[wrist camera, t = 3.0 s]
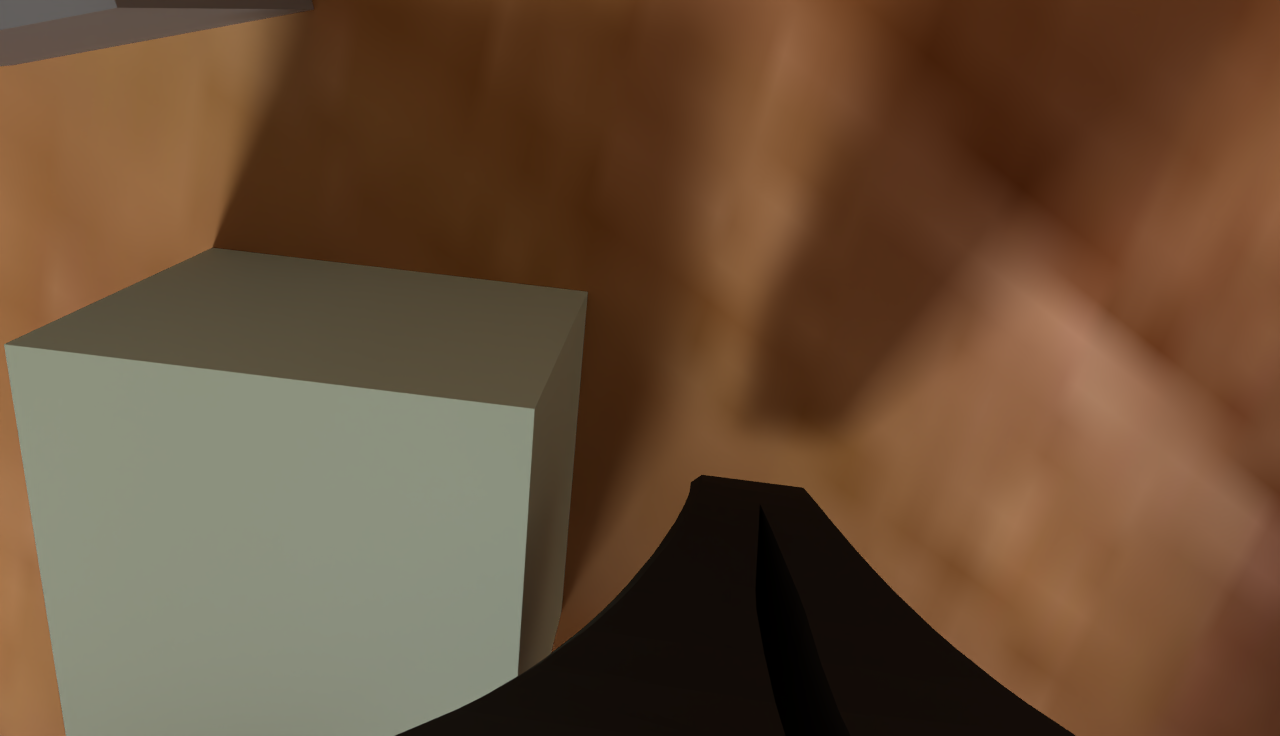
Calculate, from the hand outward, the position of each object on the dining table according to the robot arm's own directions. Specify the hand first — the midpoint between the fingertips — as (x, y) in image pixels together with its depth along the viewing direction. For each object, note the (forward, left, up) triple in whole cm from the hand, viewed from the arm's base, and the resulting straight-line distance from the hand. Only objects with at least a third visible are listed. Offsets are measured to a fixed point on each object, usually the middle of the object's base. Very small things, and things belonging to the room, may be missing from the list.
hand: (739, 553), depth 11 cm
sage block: (0, +5, -2) cm, 5 cm away
